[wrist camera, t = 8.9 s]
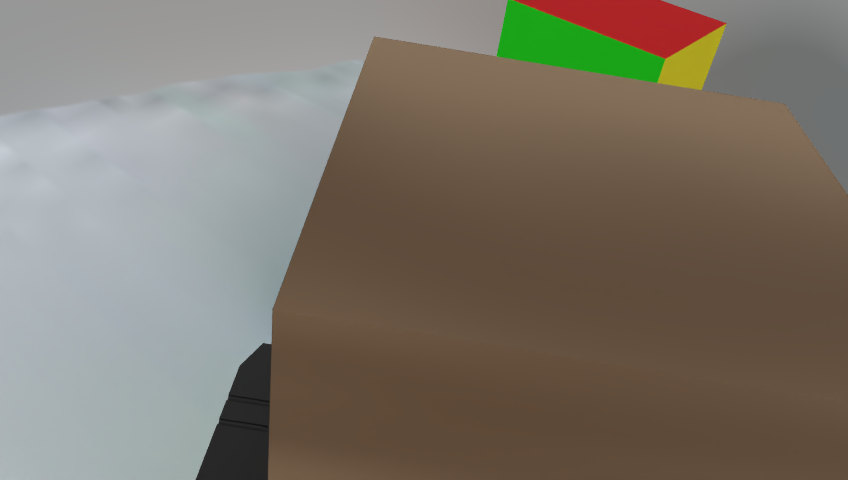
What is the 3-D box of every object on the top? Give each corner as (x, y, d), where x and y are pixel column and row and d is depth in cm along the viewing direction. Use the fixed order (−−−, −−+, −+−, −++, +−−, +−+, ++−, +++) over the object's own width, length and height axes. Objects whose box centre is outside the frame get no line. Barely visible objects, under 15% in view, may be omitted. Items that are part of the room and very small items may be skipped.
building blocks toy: (877, 799, 24) (1404, 399, 13) (305, 369, 35) (329, -41, 24) (964, 445, 36) (1265, 95, 26) (526, 213, 47) (607, -100, 37)
